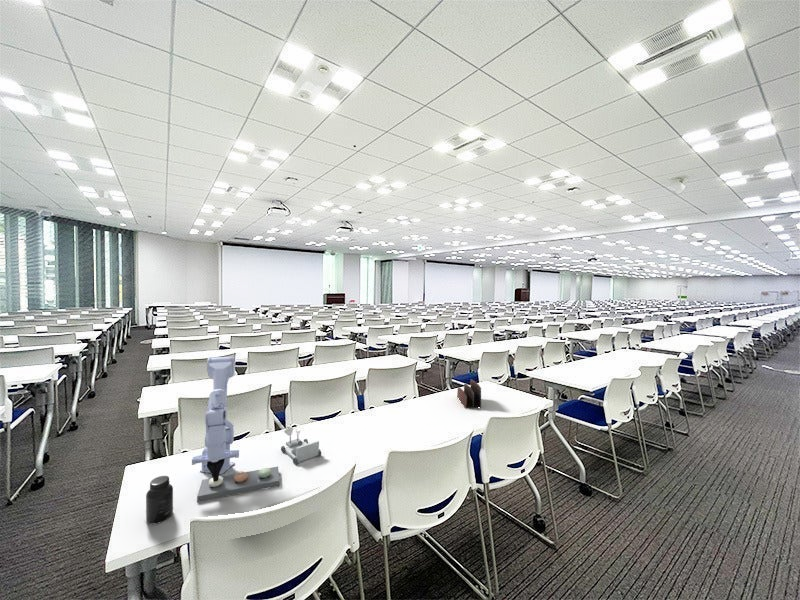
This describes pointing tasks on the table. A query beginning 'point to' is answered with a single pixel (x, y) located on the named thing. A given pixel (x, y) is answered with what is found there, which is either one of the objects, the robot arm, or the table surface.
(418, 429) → the table surface
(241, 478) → the terracotta button
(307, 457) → the toy rover
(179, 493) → the table surface
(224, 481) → the button panel
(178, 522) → the table surface
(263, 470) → the sage green button
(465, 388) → the letter holder
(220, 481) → the ivory button
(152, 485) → the supplement bottle
